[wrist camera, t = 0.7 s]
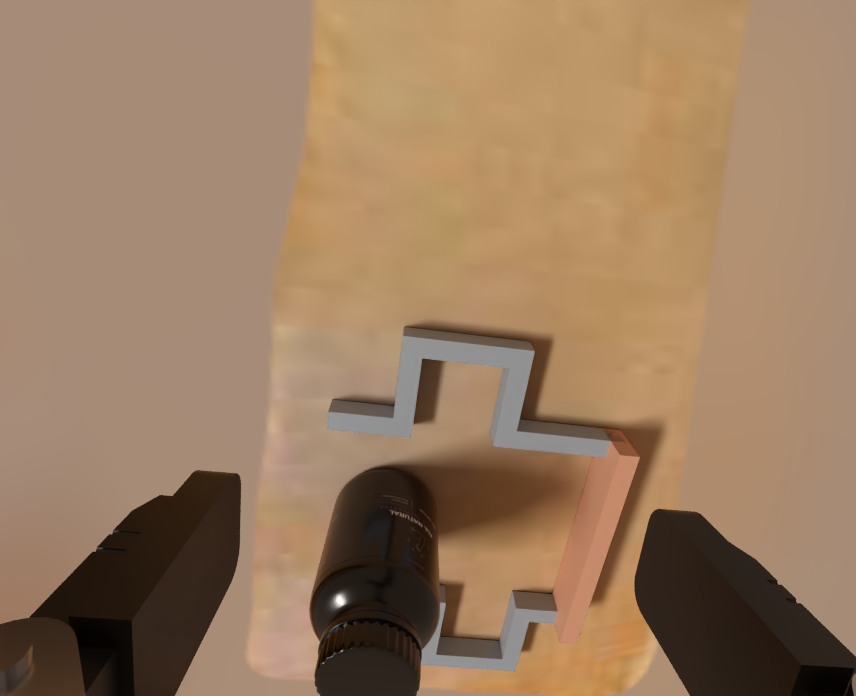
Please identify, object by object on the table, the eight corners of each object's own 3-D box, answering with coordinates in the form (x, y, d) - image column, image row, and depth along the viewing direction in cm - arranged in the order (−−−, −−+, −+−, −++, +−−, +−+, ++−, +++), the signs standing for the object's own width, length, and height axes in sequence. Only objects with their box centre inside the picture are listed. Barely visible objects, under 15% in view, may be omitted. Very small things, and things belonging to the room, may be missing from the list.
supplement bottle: (438, 464, 32) (449, 631, 21) (434, 546, 35) (442, 734, 23) (331, 463, 32) (286, 631, 21) (335, 545, 34) (297, 735, 23)
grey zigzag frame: (337, 319, 28) (329, 337, 25) (643, 355, 30) (667, 376, 27) (316, 638, 38) (308, 677, 35) (548, 655, 39) (559, 694, 36)
